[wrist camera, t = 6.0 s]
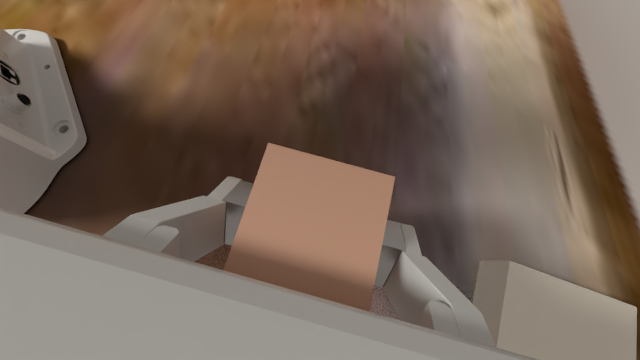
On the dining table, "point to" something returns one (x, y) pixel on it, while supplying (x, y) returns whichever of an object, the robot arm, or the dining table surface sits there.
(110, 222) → the dining table surface
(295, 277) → the tan rectangular block
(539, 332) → the cream block
